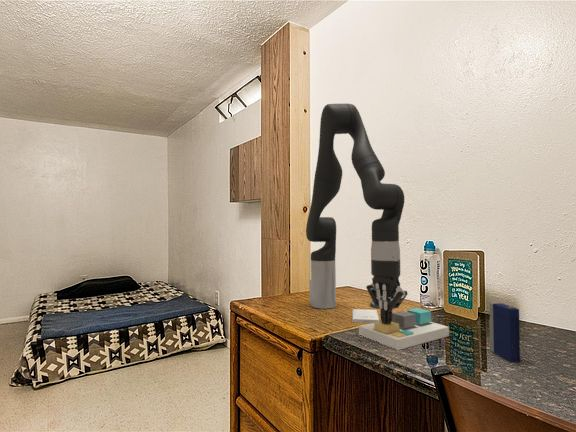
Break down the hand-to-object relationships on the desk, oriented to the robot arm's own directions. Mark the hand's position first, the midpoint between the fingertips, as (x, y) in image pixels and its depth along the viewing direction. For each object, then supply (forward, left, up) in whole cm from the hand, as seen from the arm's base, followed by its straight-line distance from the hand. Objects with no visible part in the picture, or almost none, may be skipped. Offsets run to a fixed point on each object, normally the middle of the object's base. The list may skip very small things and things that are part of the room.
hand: (386, 323), depth 96 cm
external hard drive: (-20, +11, -5) cm, 24 cm away
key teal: (0, +13, -1) cm, 13 cm away
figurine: (-28, +27, -5) cm, 39 cm away
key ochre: (0, 0, -3) cm, 3 cm away
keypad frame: (0, +7, -4) cm, 8 cm away
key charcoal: (0, +7, -1) cm, 7 cm away
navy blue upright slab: (+23, +14, -5) cm, 27 cm away
